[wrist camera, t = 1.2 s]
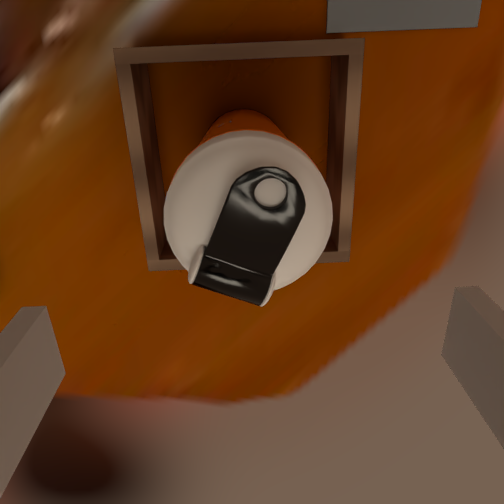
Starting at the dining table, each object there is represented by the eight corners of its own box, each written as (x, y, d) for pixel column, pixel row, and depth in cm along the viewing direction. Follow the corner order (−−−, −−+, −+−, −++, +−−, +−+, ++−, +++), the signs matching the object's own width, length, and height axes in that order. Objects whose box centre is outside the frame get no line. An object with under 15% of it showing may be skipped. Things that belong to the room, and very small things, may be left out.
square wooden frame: (132, 48, 34) (112, 48, 29) (344, 39, 34) (364, 37, 29) (160, 241, 41) (148, 271, 36) (334, 233, 42) (349, 261, 36)
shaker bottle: (305, 110, 36) (373, 172, 18) (279, 206, 40) (314, 336, 22) (202, 85, 35) (167, 125, 17) (185, 187, 39) (142, 306, 21)
